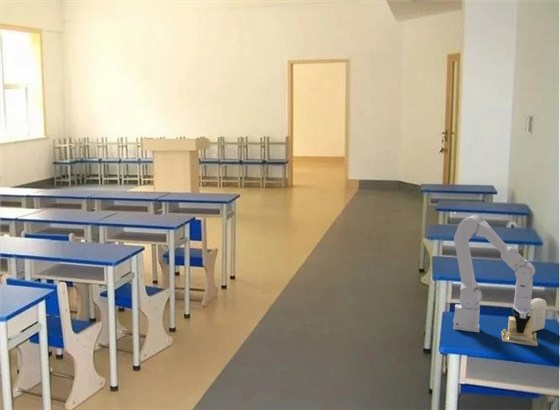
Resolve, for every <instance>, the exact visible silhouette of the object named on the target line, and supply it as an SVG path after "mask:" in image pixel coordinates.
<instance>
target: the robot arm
mask: <svg viewBox="0 0 560 410" xmlns="http://www.w3.org/2000/svg"><path fill="white" fill-rule="evenodd" d="M457 226H458V227H457V230H456V231H455V235H454V237H453V242H454V247H455V253H456V257H457V258H456V259H457V265H458V270H459V277H460V282H461V284H460V288H459V289H460V290H459V291H460V295H459V303H460V304H458V303H457V304H455V305H454V316H453V320H452V323H453V330H459V331H464V332H474V333H480V323H479V322H480V310H481V305H480V301H481V300H482V298H483V292H482V290H481V289H480V288H479V284H478V282H477V281H476V276H475V272H474V265H473V264H474V263H473V260H472V259H473V258H472V254H471V248H470V242H469V241H470V239H471V238H472V237H473V236H474V234H475V233H476V234H475V236H477V237H482V238H485V239H486V240H487V241H488V242H489V243H490V244H491V245H492V246H494V248H495V249H496V250H498V252H500V258H501V259H502V260H503V261H504V263H505V264H506V265H508V267H509V268H510V269H511V270H513V271H514V274H515V278H516V279H515V280H516V282H515V288H514V289H515V291H514V300H513V305H512V311H513V317H515V320H516V328H517V333H524V330H525V327H526V324H527V322H528V321H529V320H530V316H527V315H528V313H529V311H534V308H533V307H530V306H531V300H532V297H533V296H532V295H533V294H532V293H533V279H534V277H533V276H534V275H535V273H536V268H535V266H534V264H533V263H532V262H530V261H529V260H527V259H525V257H523V256H522V255H521V254H520V253H519V252H520V250H518V248H514V247H513V246H508V245H507V244H506V243H505V242H504V241H503V239H502V238H501V237H500V236H499V234H498V233H497V232H495V230H494V229H493V228H492V227H491V225H490V224H489V223H488V222H487V221H486V220H485V219H484V218H483V217H482V216H480V215H478V214H471V215H470V216H468V217H465V218H464V219H462V220H461V221H460V222H459V223H458V225H457Z"/></svg>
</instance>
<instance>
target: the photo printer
mask: <svg viewBox="0 0 560 410" xmlns="http://www.w3.org/2000/svg"><path fill="white" fill-rule="evenodd" d="M547 304H548V303H547V302H546V300H545V299H544V298H543V299H542V298H540V297H535V298H533V299H532V298H531V306H530V307H533V308H534V311H529V313H528V315H527V316H530V319H532V320H533V330H532V333H535V332H537V331H539V330H544V328H545V326H546V315H547V306H548V305H547Z"/></svg>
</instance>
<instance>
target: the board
mask: <svg viewBox="0 0 560 410" xmlns="http://www.w3.org/2000/svg"><path fill="white" fill-rule="evenodd" d="M532 330H533V320H532V319H530V320H529V321H528V322H527V324H526V327H525V330H524V333H517V328H516V320H515V317H514V316H510V315H509V316H508V323H507V332H508V334H509V332H510V333H512V334H511V336H518V337H526V338H532V335H533V332H532Z"/></svg>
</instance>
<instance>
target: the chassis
mask: <svg viewBox="0 0 560 410" xmlns="http://www.w3.org/2000/svg"><path fill="white" fill-rule="evenodd" d="M511 334H512V333H510V332H509V334H508V330H507V329H506V328H503V329H502V330H501V331H500V335H501V340H502V341H501V342H505V343H511V344H518V345H525V346H526V345H527V346H533V347H538V345H539V343H538V340H537V332H532V338H526V337H518V336H511Z"/></svg>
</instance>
